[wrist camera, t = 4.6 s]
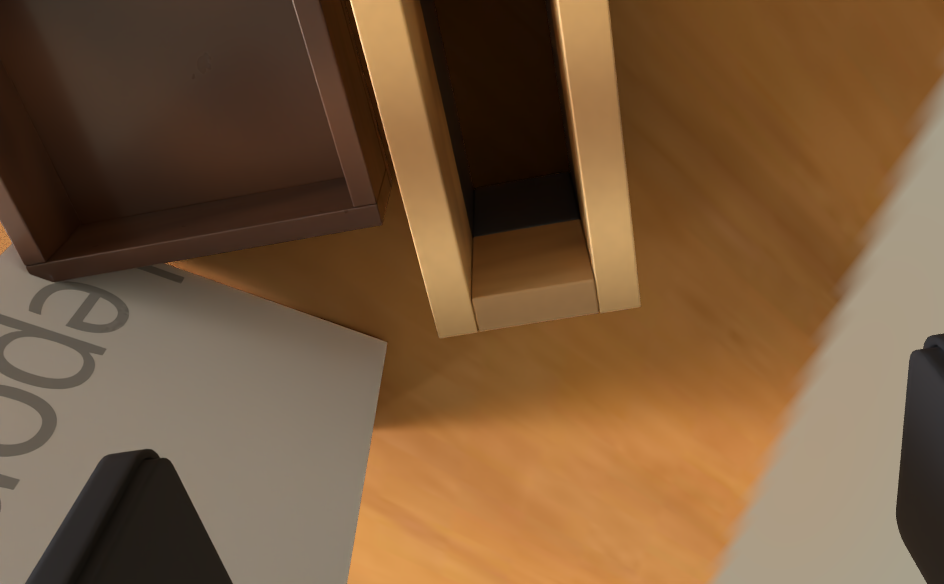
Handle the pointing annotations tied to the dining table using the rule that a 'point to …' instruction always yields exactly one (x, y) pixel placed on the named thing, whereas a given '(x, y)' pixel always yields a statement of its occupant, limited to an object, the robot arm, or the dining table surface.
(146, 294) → the brochure
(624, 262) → the frame top
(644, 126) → the dining table surface
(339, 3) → the holder
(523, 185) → the frame low
